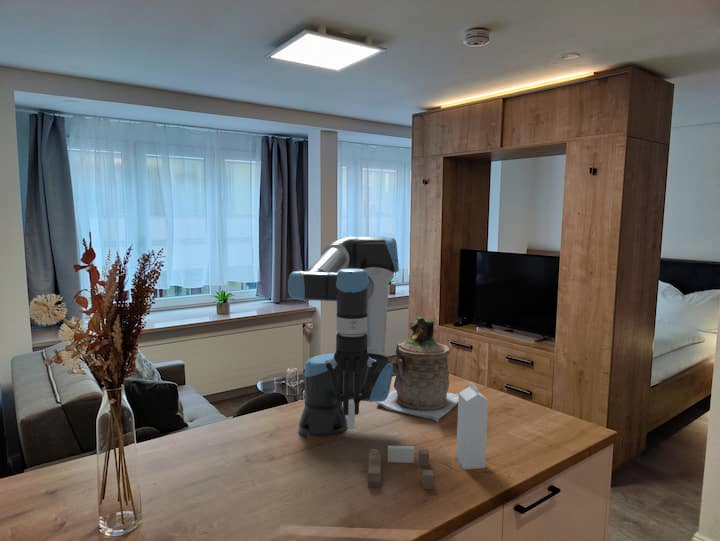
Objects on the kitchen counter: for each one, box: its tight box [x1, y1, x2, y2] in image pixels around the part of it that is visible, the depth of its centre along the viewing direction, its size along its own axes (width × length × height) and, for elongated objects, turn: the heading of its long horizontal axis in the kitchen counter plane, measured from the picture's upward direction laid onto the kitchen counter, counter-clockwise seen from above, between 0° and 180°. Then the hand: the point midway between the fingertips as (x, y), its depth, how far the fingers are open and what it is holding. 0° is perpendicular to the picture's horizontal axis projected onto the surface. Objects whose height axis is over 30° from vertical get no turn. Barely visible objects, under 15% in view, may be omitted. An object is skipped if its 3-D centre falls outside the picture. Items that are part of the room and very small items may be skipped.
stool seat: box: [387, 445, 435, 490], centre depth 123 cm, size 17×15×5 cm
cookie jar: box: [375, 316, 459, 423], centre depth 170 cm, size 25×25×32 cm
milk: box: [455, 381, 489, 470], centre depth 130 cm, size 6×6×22 cm
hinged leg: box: [367, 448, 382, 489], centre depth 122 cm, size 12×3×4 cm, turn 178°
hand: (350, 426), depth 119 cm, fingers closed
